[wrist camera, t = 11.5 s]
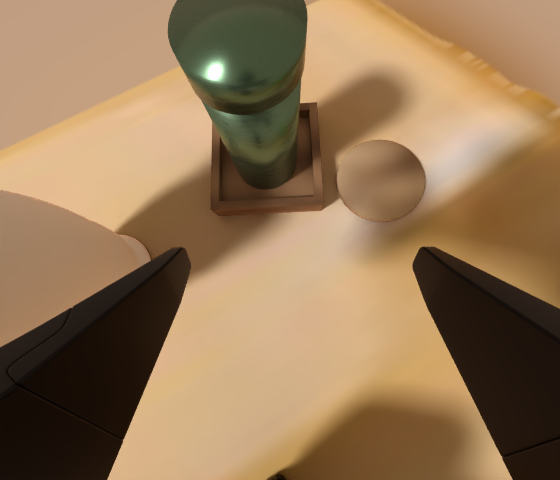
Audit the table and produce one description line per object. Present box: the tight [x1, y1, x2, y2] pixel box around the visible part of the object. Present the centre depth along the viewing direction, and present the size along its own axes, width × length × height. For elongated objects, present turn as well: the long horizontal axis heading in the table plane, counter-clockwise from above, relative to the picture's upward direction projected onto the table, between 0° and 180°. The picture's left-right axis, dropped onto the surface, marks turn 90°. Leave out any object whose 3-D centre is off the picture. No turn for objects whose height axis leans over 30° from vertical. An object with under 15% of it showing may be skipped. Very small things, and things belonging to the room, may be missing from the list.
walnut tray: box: [211, 102, 324, 215], centre depth 22 cm, size 11×11×2 cm
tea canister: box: [168, 0, 307, 190], centre depth 16 cm, size 7×7×12 cm
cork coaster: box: [336, 140, 425, 222], centre depth 22 cm, size 9×9×1 cm
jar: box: [0, 190, 151, 347], centre depth 15 cm, size 11×10×15 cm
